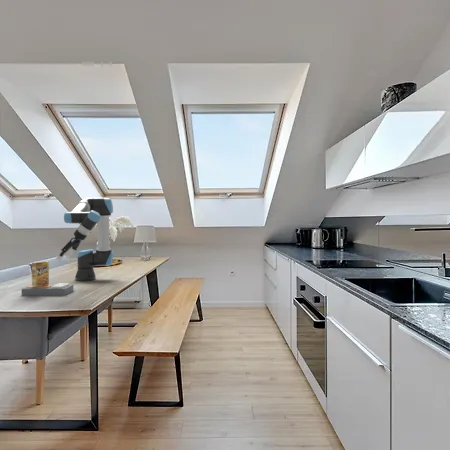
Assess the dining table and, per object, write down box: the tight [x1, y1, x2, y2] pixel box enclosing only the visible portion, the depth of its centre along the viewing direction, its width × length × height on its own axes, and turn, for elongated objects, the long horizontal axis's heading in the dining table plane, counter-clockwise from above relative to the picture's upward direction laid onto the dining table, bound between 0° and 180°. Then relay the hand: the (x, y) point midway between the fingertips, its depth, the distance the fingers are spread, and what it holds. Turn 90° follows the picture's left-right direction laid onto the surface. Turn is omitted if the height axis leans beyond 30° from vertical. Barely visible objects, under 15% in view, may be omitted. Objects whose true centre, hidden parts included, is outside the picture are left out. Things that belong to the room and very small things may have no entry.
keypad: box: [21, 282, 74, 296], centre depth 222 cm, size 14×26×5 cm, turn 93°
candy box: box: [31, 261, 50, 287], centre depth 221 cm, size 9×4×15 cm, turn 146°
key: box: [26, 284, 54, 288], centre depth 222 cm, size 8×13×2 cm, turn 93°
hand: (62, 258), depth 225 cm, fingers open, 13 cm apart
